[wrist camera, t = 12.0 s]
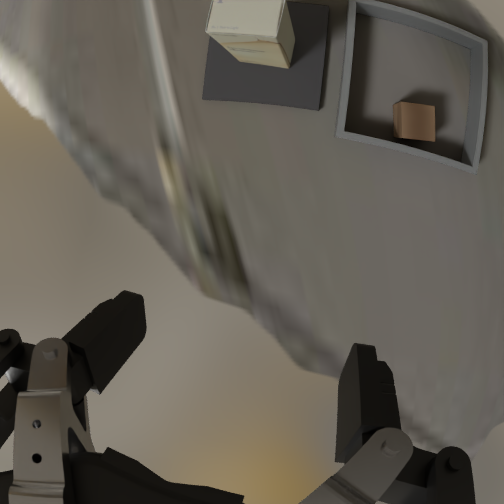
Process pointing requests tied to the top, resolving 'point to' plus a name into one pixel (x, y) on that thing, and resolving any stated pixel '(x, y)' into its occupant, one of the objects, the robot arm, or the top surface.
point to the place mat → (270, 77)
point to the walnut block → (414, 121)
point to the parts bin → (365, 4)
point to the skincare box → (253, 30)
